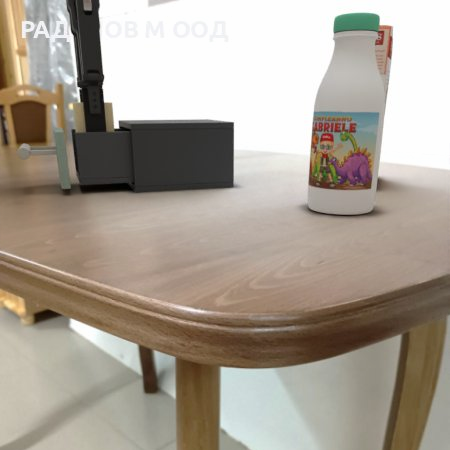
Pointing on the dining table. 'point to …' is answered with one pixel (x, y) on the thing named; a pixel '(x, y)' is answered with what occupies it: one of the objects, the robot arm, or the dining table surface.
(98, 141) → the drawer
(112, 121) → the block
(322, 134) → the milk bottle
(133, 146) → the dark grey box
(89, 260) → the dining table surface
